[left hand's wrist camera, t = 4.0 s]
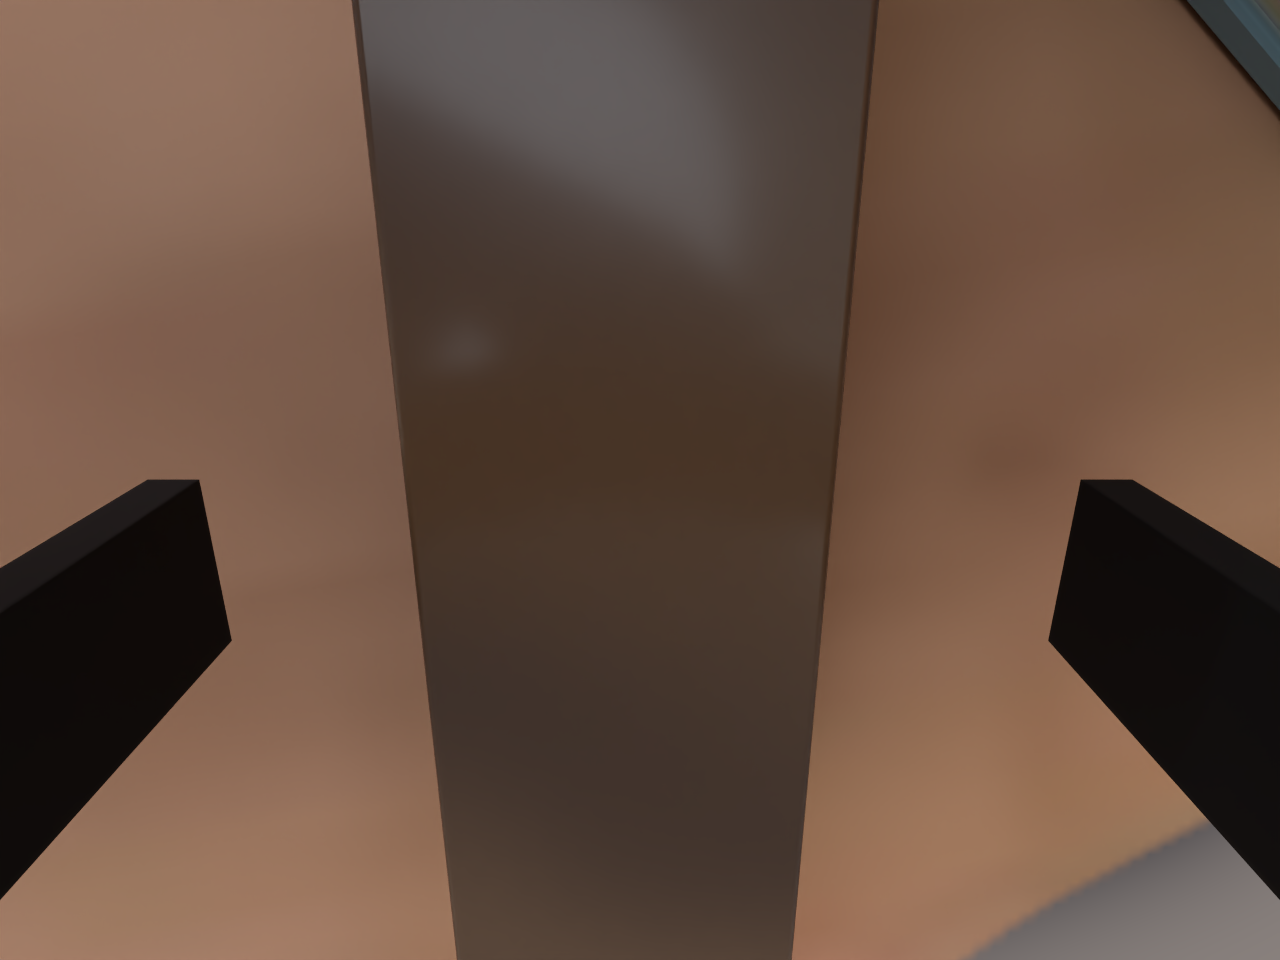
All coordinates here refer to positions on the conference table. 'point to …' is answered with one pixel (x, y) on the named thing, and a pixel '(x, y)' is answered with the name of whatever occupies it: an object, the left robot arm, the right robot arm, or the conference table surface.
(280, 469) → the conference table surface
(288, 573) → the conference table surface
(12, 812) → the left robot arm
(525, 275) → the beam
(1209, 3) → the book
